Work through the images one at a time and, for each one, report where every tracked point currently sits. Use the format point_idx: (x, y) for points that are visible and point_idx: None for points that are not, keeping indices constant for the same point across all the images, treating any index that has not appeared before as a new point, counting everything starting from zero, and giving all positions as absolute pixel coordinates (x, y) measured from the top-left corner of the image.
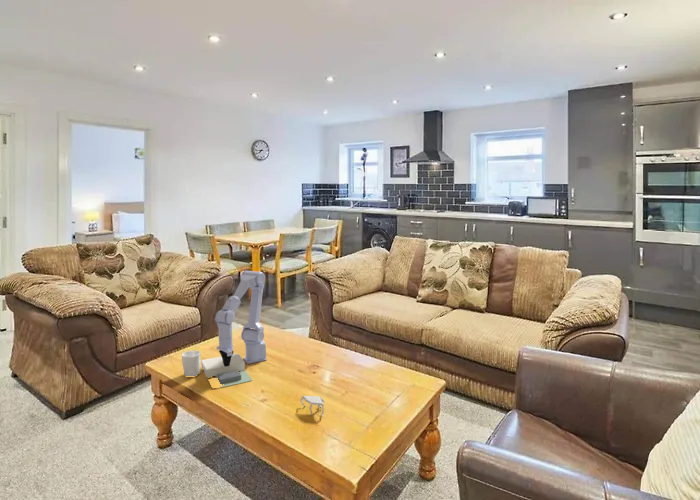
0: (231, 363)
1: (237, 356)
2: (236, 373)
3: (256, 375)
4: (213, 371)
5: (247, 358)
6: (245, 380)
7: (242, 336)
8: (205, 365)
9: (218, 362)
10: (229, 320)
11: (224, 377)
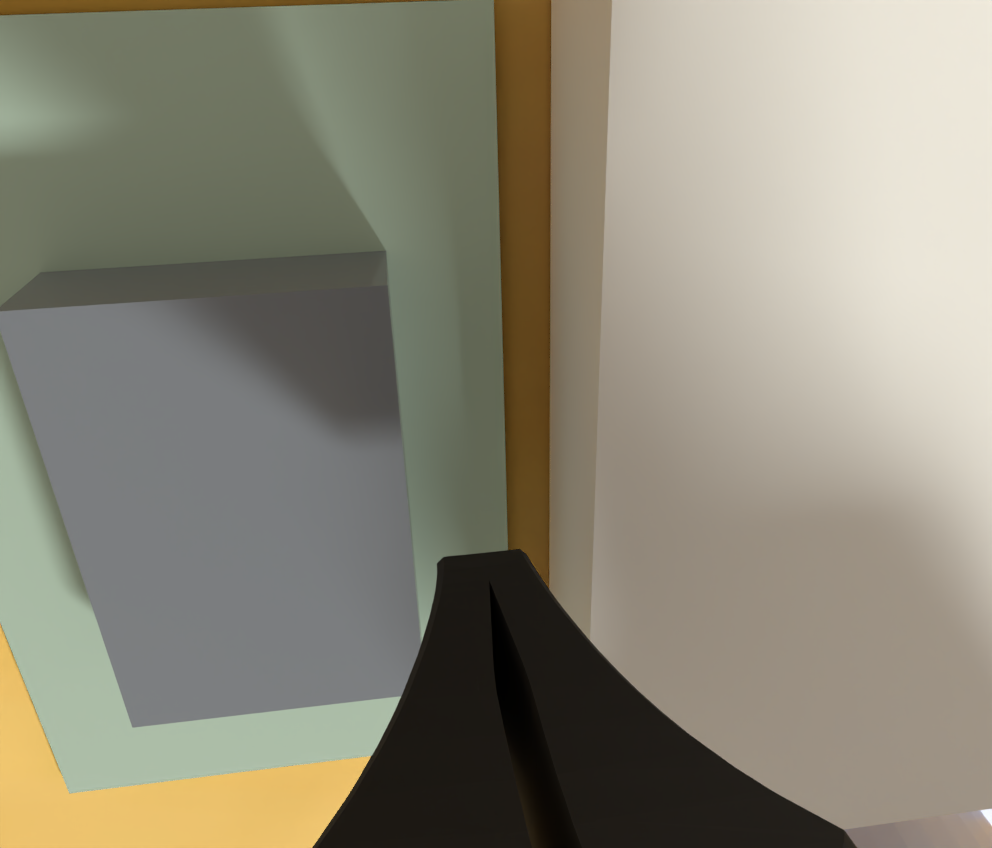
0: (664, 670)
1: (939, 782)
2: (260, 662)
3: (271, 840)
4: (580, 216)
5: (867, 832)
6: (90, 709)
7: None
8: (978, 32)
9: (919, 420)
10: None
11: (120, 424)
